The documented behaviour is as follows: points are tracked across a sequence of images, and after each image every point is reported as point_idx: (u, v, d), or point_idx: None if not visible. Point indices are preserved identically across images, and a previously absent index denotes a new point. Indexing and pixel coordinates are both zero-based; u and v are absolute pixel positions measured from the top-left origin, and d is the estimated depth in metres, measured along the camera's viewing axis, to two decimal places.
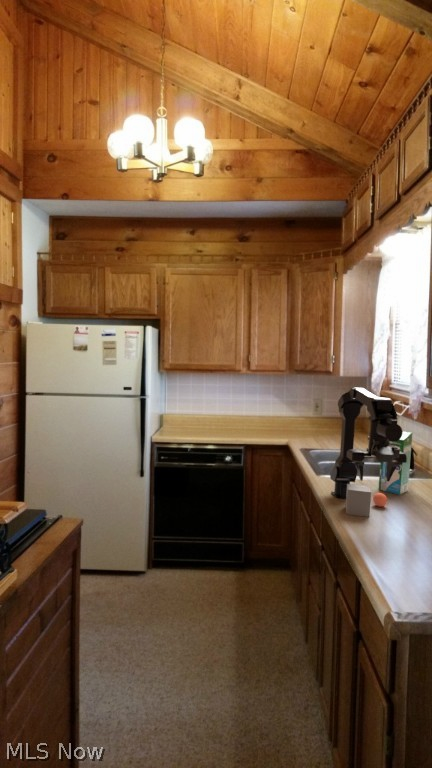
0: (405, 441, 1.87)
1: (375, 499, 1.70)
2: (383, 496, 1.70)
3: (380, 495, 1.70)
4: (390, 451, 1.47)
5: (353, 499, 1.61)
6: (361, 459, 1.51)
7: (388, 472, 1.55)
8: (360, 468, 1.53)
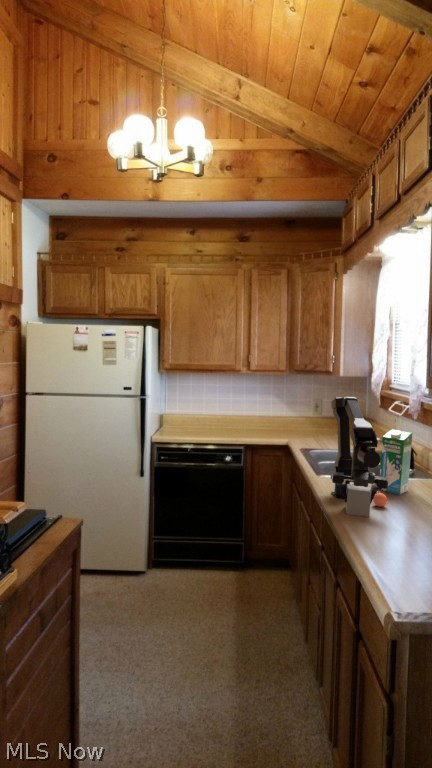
0: (405, 441, 1.87)
1: (375, 499, 1.70)
2: (383, 496, 1.70)
3: (380, 495, 1.70)
4: (365, 476, 1.56)
5: (353, 499, 1.61)
6: (341, 482, 1.62)
7: None
8: (343, 490, 1.64)
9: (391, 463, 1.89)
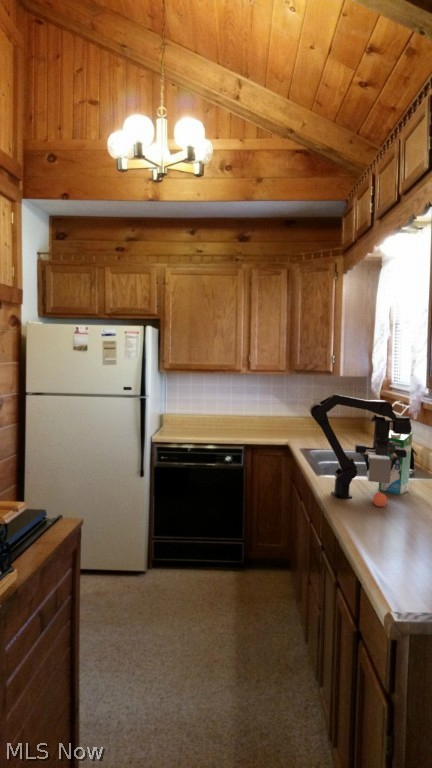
0: (405, 441, 1.87)
1: (375, 499, 1.70)
2: (383, 496, 1.70)
3: (380, 495, 1.70)
4: (386, 446, 1.72)
5: (375, 467, 1.76)
6: (363, 452, 1.78)
7: None
8: (365, 460, 1.80)
9: None
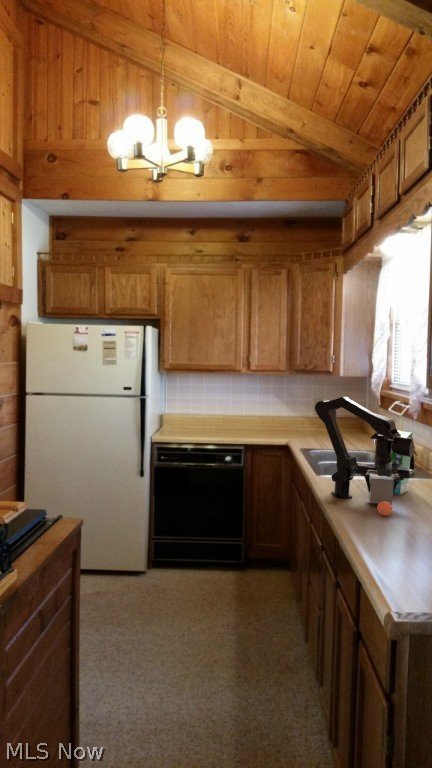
0: None
1: None
2: None
3: None
4: (389, 466, 1.64)
5: (376, 488, 1.69)
6: (364, 472, 1.70)
7: None
8: (366, 480, 1.72)
9: None
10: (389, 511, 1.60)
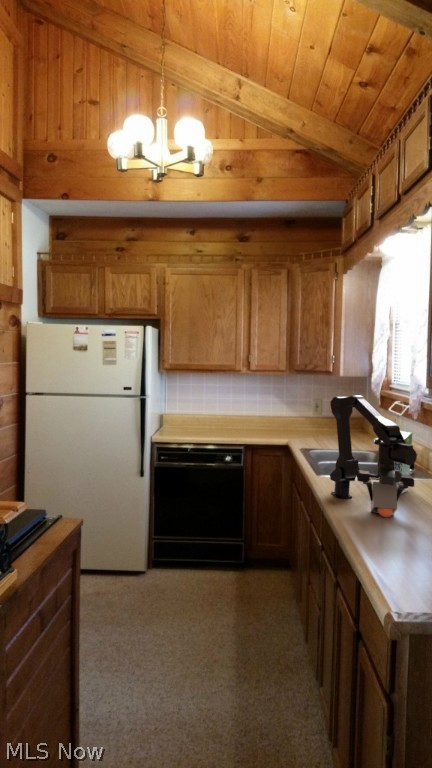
0: (405, 441, 1.87)
1: None
2: None
3: None
4: (392, 474, 1.56)
5: (379, 491, 1.61)
6: (366, 480, 1.61)
7: None
8: (369, 489, 1.63)
9: None
10: (389, 515, 1.59)
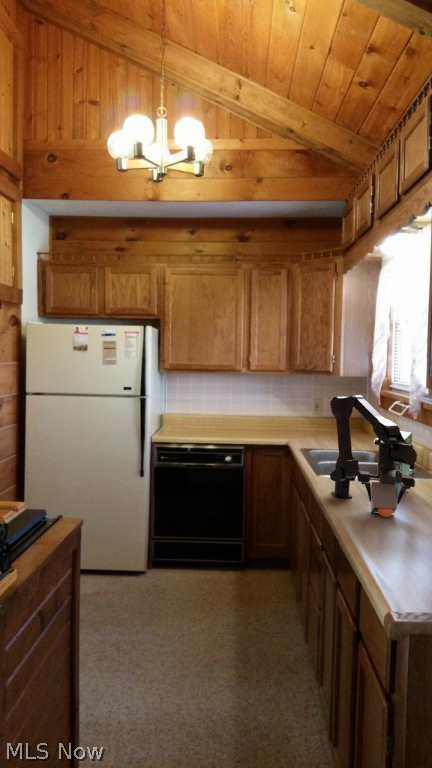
0: (405, 441, 1.87)
1: None
2: None
3: None
4: (392, 474, 1.55)
5: (378, 491, 1.61)
6: (367, 480, 1.61)
7: (398, 495, 1.62)
8: (367, 489, 1.63)
9: None
10: (389, 515, 1.59)
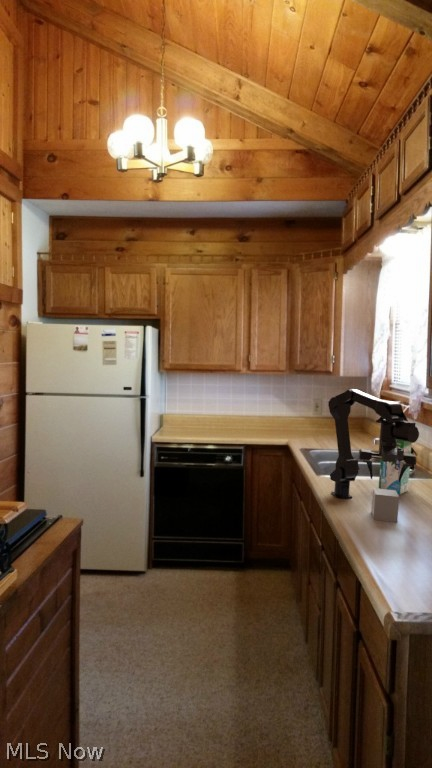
0: (405, 441, 1.87)
1: None
2: None
3: None
4: (394, 452, 1.56)
5: (380, 504, 1.57)
6: (368, 458, 1.61)
7: (399, 473, 1.62)
8: (369, 467, 1.63)
9: (391, 463, 1.89)
10: None
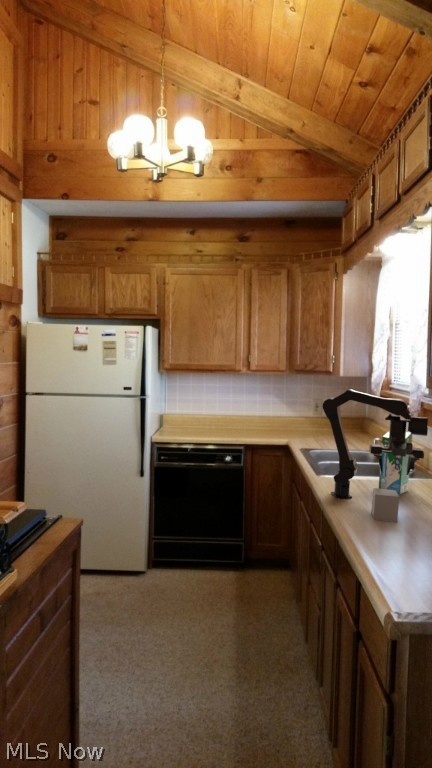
0: (405, 441, 1.87)
1: None
2: None
3: None
4: (403, 446, 1.66)
5: (380, 504, 1.57)
6: (379, 452, 1.71)
7: (407, 467, 1.72)
8: (379, 461, 1.73)
9: (391, 463, 1.89)
10: None
